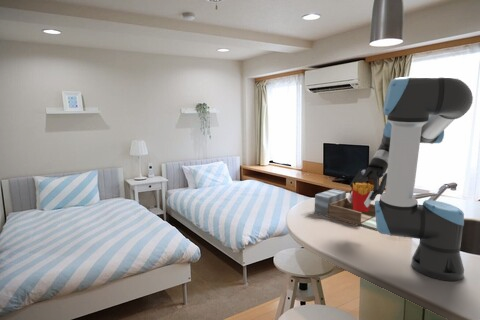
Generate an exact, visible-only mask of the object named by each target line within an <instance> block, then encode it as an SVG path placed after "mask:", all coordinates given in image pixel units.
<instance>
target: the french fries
mask: <svg viewBox="0 0 480 320" xmlns="http://www.w3.org/2000/svg"><path fill="white" fill-rule="evenodd" d="M373 188H374V184H371V183H369V182H368V183H367V182H365V183H363V184H362V183H356V184H355V185H354V183H353V189H352V188H351V189H352V193H353V210H355V211H361V212H369V208H370V205H369V206H368V207H366V206H365V204H364V202H365V201H366V199H367V197H368V195H369V193H370V192H371V191H373Z"/></svg>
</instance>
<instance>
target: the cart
mask: <svg viewBox="0 0 480 320" xmlns="http://www.w3.org/2000/svg"><path fill="white" fill-rule="evenodd" d="M314 213H315V214H318V215H321V216H324V217H325V216H326V217H328V218H332V219H334V220H335V219H336V220H339V221H342V222H345V223H349V224H351V225H356V226H359V227H364V228H367V229H370V230H373V231H374V230H375V231H378V230H377V225H376V215H375V203H370V208H369V212H361V211H355V210H353V201H352V202H351V203H350V202H349V201H348V197H347V191H344V190H339V189H334V188H332V189H329V190H325V191H323V192H318V193H316V194H315V196H314Z"/></svg>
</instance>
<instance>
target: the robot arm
mask: <svg viewBox="0 0 480 320" xmlns="http://www.w3.org/2000/svg"><path fill="white" fill-rule="evenodd" d="M383 101H384V102H383V108H382V114H383V115H385V116H387V119H386V120H387V122H386V123H385V125H384V127H383V132H382V133H383V134H382V138H381V141H380V145H379V146H378V148H377V150H376V152H375V154H373V156H372V159H370V162H369V164H368V166H367V168H366V169H363V168H358V169H359V170H358V172H357V173H356V175H355V176H354V177H353V179H352V180H351V182H350V183H349V187H350V188H351V190H350V191H349V195H348V197H347V198H348V201H349V202H350V203H351V202H352V201H353V193H352V189H353V183H354V185H355V184H356V183H362V184H363V183H367V182H368V181H370V180H373V185H374V188H373V191H371V192H370V193H369V195H368V197H367V199H366V201H365V202H364V204H365V206H366V207H368V206H369V205H370V204H372V201H374V200H375V199H376V197H377V196H379V195H380V196H379V199H378V200H376V201H374V205H375V215H376V225H377V230H376V231H377V232H378V233H380V234H381V235H387V236H390V237H392V236H393V237H394V236H395V237H401V238H409V239H415V240H416V239H418V240H419V244H418V246H417V247H416V250H415V251H414V254H413V255H412V257H411V266H412V267H413V269H415V271H416V272H418V273H420V274H423V275H425V276H427V277H429V278H432V279H435V280H439V281H440V280H441V281H446V282H447V281H448V282H449V281H450V282H454V281H455V282H456V281H460V280H462V279H463V278H464V275H465V266H464V263H463V260H462V256H461V252H460V251H461V245H462V238H463V231H464V230H463V229H464V226H465V214H464V211H463V210H462V209H460V208H459V207H458V206H455V205H453V204H450V203H447V202H442V201H439V200H432V199H426V200H424V201H423V202H422V204H419V203H418V199H417V198H416V197H415V196H414V193H415V184H416V177H417V168H418V161H419V160H418V159H419V153H420V145H421V144H431V145H433V144H440V143H442V142H443V139H444V137H445V130H446V128H448V126H450V125H451V123H453V122H454V121H455V120H457V119H460V118H461V117H462V118H463V116H464V115H465V114H467V113H468V111H469V110H470V108H471V107H472V104H473V101H474V96H473V93H472V90H471V89H470V87H469V85H467V84H466V83H465V82H464V81H462V80H461V79H459V78H457V77H454V76H450V75H440V76H439V75H438V76H402V77H395V78H393V79H392V80H390V82H389V84H388V86H387V90H386V93H385V96H384V100H383ZM380 179H381V181H380ZM379 183H380V184H379Z"/></svg>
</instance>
